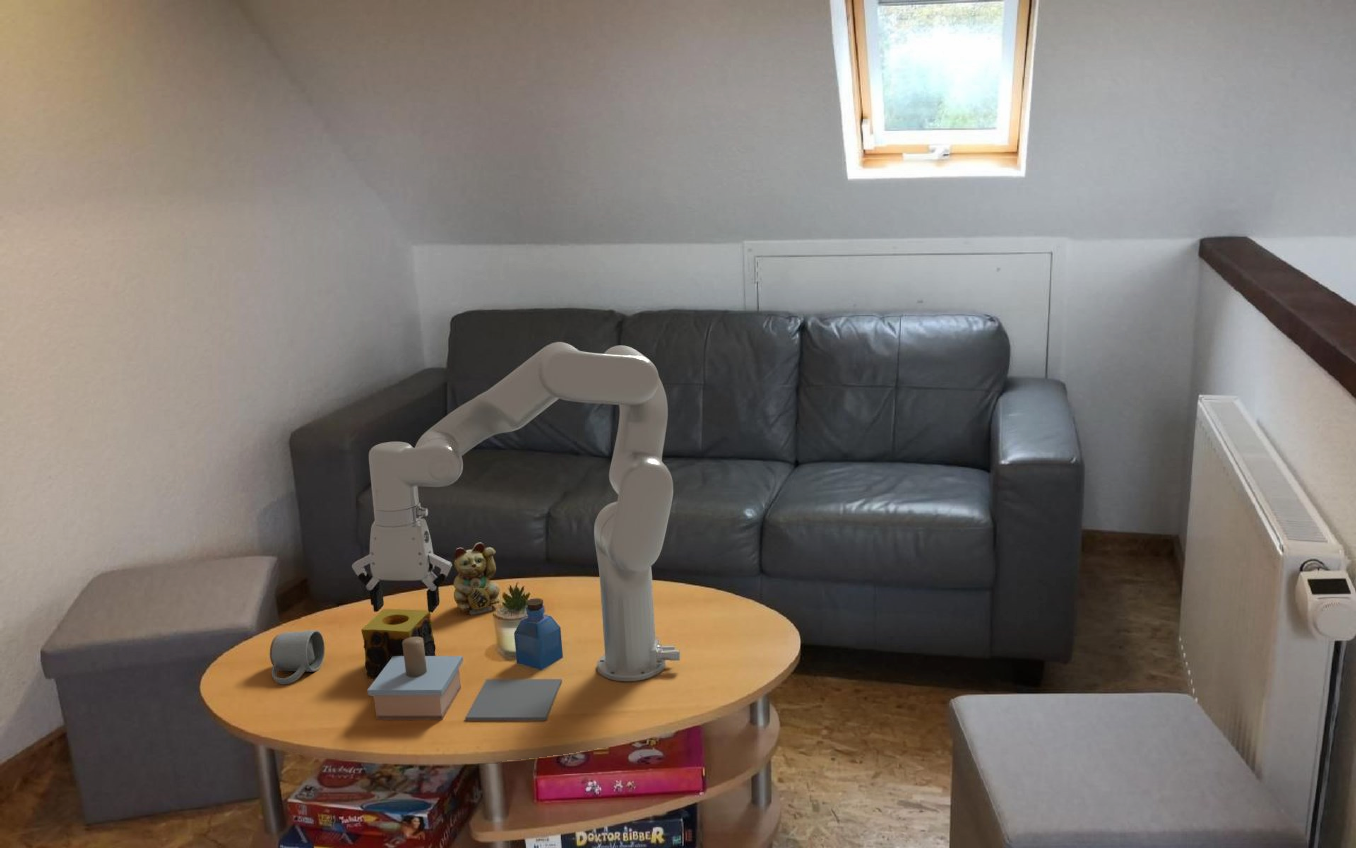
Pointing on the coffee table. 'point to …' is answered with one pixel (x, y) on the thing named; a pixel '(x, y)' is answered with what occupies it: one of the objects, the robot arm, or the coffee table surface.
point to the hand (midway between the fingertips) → (405, 609)
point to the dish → (417, 704)
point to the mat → (514, 700)
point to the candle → (394, 636)
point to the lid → (415, 672)
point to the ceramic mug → (296, 654)
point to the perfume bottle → (537, 638)
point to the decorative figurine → (475, 579)
